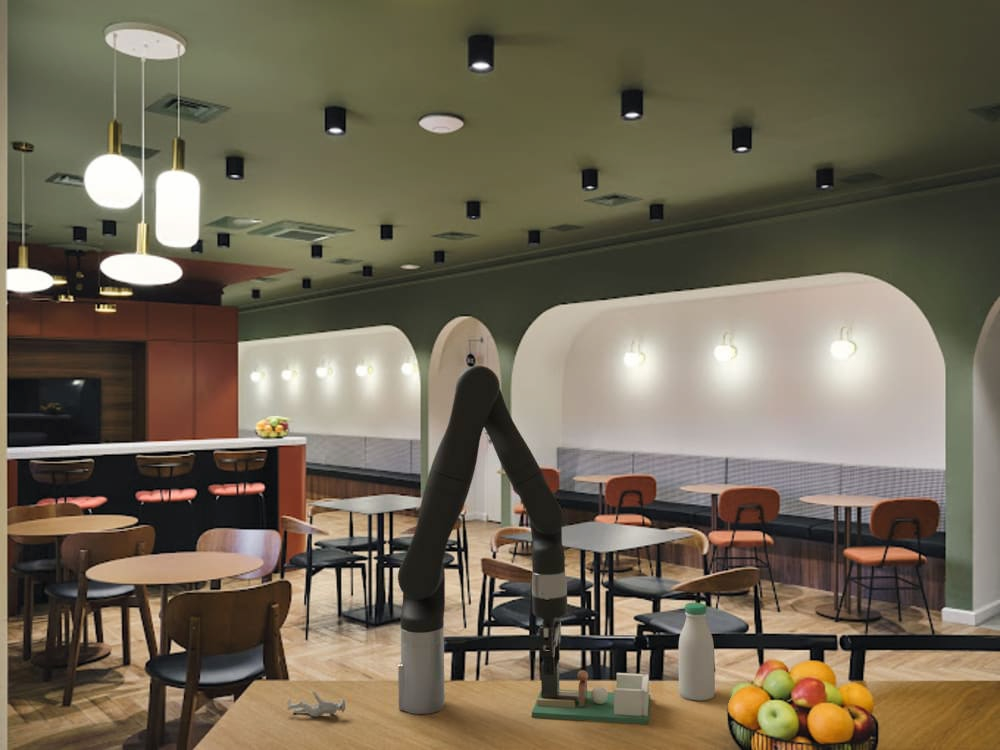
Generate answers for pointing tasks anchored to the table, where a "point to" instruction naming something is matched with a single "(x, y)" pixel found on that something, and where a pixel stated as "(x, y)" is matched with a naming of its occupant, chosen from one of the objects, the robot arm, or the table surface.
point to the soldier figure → (317, 707)
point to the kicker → (552, 686)
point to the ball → (599, 695)
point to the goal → (631, 694)
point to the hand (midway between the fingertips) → (551, 667)
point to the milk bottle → (696, 656)
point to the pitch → (584, 710)
